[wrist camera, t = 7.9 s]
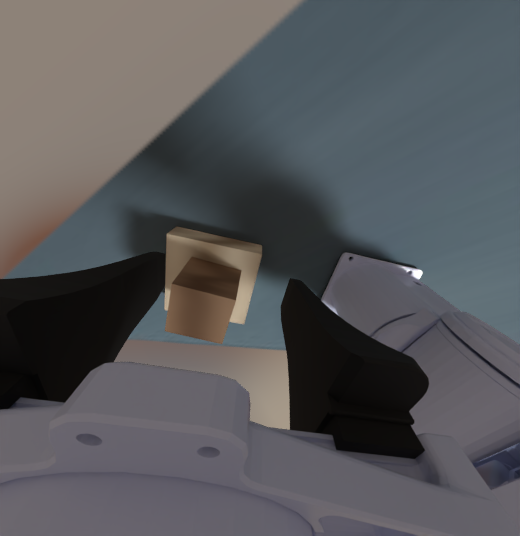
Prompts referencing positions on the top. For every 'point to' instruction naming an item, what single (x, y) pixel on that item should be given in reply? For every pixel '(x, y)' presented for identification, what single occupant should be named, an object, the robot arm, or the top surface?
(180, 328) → the walnut cube
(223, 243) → the maple block
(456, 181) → the top surface
